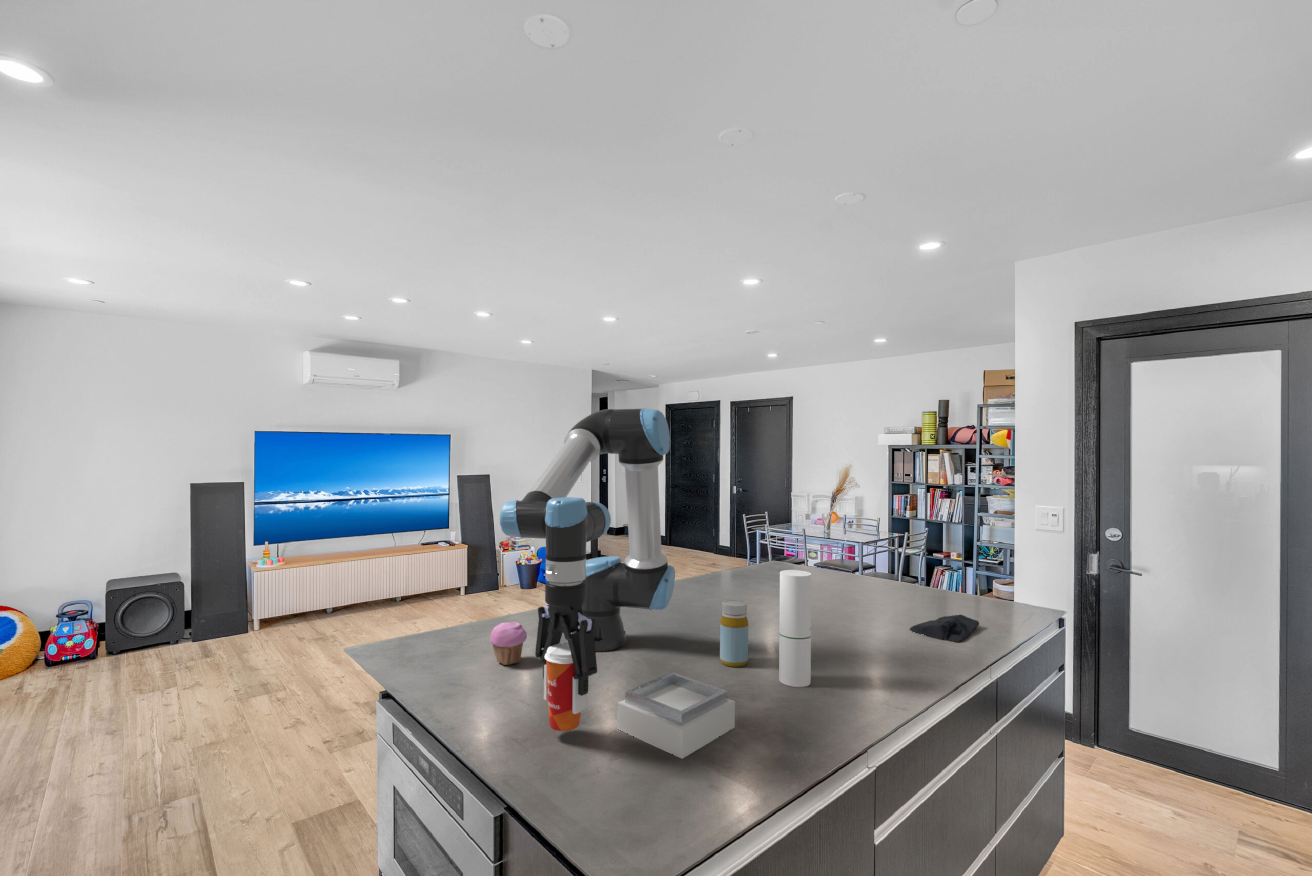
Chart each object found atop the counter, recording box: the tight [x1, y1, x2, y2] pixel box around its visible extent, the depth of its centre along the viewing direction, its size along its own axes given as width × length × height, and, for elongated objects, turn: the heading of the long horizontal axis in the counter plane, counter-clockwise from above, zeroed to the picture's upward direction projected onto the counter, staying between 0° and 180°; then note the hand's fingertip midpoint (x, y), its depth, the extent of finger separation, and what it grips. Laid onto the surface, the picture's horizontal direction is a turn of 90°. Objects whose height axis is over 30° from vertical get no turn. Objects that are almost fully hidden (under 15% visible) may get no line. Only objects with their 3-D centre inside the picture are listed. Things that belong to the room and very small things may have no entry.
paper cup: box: [545, 642, 582, 732], centre depth 110 cm, size 8×8×14 cm
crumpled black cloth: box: [909, 614, 980, 643], centre depth 179 cm, size 15×22×5 cm
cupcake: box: [489, 621, 528, 666], centre depth 147 cm, size 9×9×10 cm
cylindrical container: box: [778, 569, 812, 688], centre depth 138 cm, size 7×7×25 cm
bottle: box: [719, 599, 749, 668], centre depth 149 cm, size 7×7×15 cm
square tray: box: [616, 671, 736, 760], centre depth 114 cm, size 16×16×7 cm
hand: (564, 703), depth 110 cm, fingers closed on paper cup, 8 cm apart
